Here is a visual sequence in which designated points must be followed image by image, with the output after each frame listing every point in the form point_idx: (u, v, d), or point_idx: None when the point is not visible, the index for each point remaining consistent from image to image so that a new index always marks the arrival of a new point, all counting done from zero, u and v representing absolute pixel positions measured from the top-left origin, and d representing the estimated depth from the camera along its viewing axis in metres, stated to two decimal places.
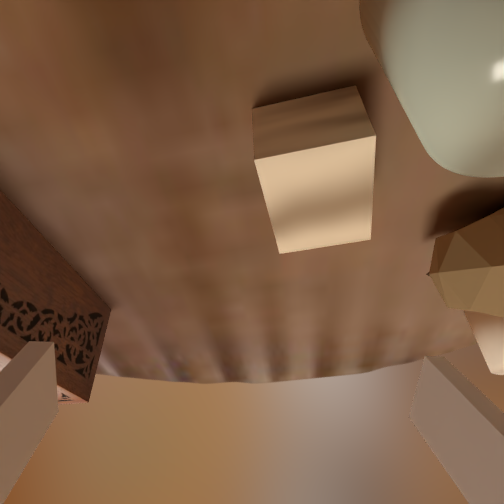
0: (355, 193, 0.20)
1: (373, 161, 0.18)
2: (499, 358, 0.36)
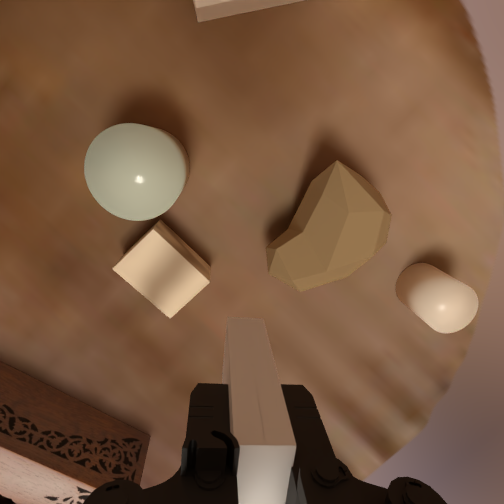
0: (173, 260, 0.37)
1: (164, 240, 0.36)
2: (424, 315, 0.40)
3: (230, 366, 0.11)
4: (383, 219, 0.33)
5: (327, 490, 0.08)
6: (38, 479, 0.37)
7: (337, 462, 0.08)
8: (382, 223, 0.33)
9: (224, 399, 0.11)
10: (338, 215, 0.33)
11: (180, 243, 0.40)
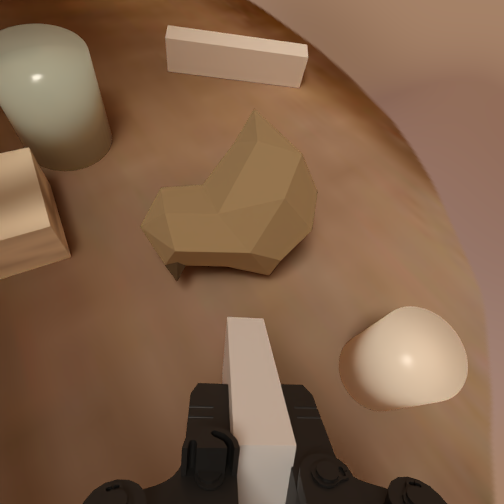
0: (24, 184, 0.27)
1: (31, 161, 0.28)
2: (376, 353, 0.23)
3: (230, 366, 0.11)
4: (301, 165, 0.26)
5: (327, 490, 0.08)
6: None
7: (337, 462, 0.08)
8: (300, 171, 0.26)
9: (224, 399, 0.11)
10: (245, 149, 0.26)
11: (51, 202, 0.30)
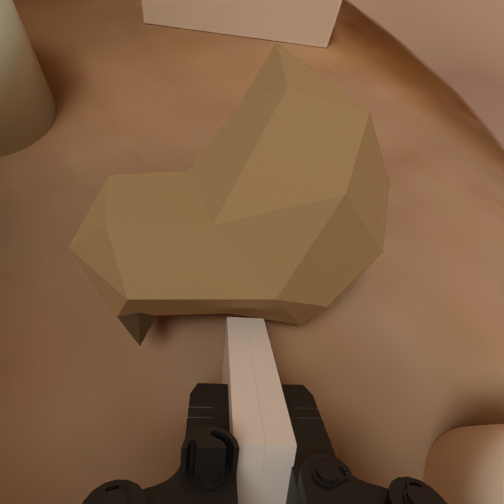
0: None
1: None
2: None
3: (230, 366, 0.11)
4: (368, 132, 0.14)
5: (327, 490, 0.08)
6: None
7: (337, 462, 0.08)
8: (367, 143, 0.14)
9: (224, 399, 0.11)
10: (263, 105, 0.14)
11: None
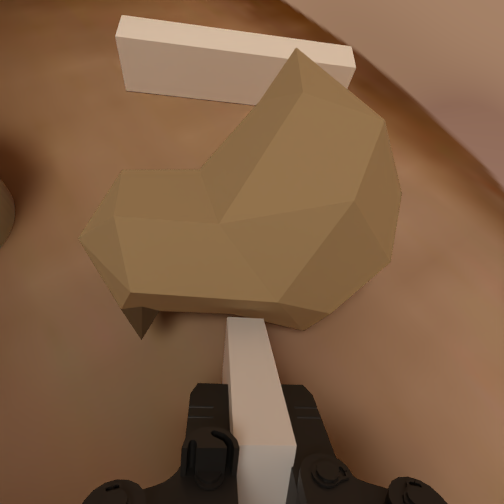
0: None
1: None
2: None
3: (230, 366, 0.11)
4: (382, 140, 0.14)
5: (327, 490, 0.08)
6: None
7: (337, 462, 0.08)
8: (380, 151, 0.14)
9: (224, 399, 0.11)
10: (278, 108, 0.14)
11: None
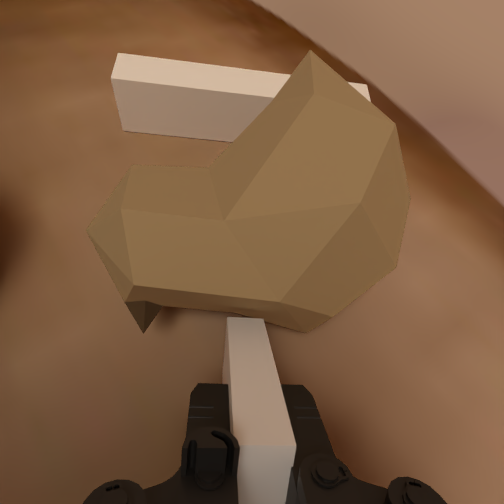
0: None
1: None
2: None
3: (230, 366, 0.11)
4: (392, 144, 0.14)
5: (327, 490, 0.08)
6: None
7: (337, 462, 0.08)
8: (390, 155, 0.14)
9: (224, 399, 0.11)
10: (289, 109, 0.14)
11: None
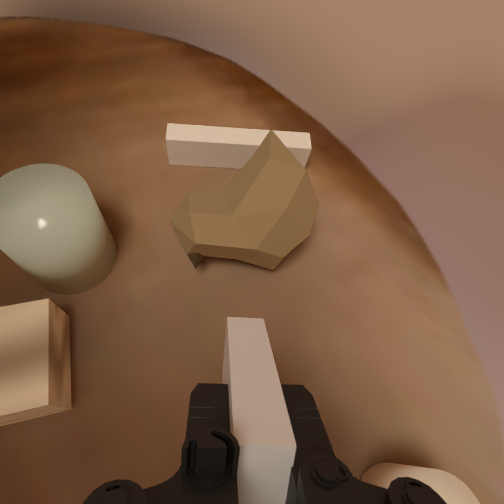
0: (34, 346, 0.27)
1: (47, 317, 0.28)
2: None
3: (230, 366, 0.11)
4: (304, 180, 0.31)
5: (327, 490, 0.08)
6: None
7: (337, 462, 0.08)
8: (303, 184, 0.31)
9: (224, 399, 0.11)
10: (259, 164, 0.32)
11: (63, 348, 0.30)
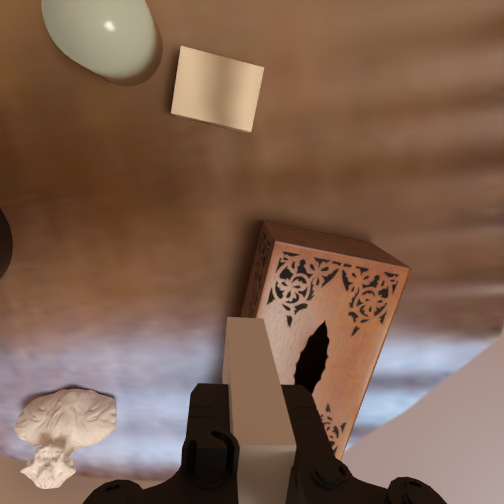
0: (217, 66, 0.34)
1: (197, 50, 0.33)
2: None
3: (230, 366, 0.11)
4: None
5: (327, 490, 0.08)
6: (270, 337, 0.37)
7: (337, 462, 0.08)
8: None
9: (224, 399, 0.11)
10: None
11: None
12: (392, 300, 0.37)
